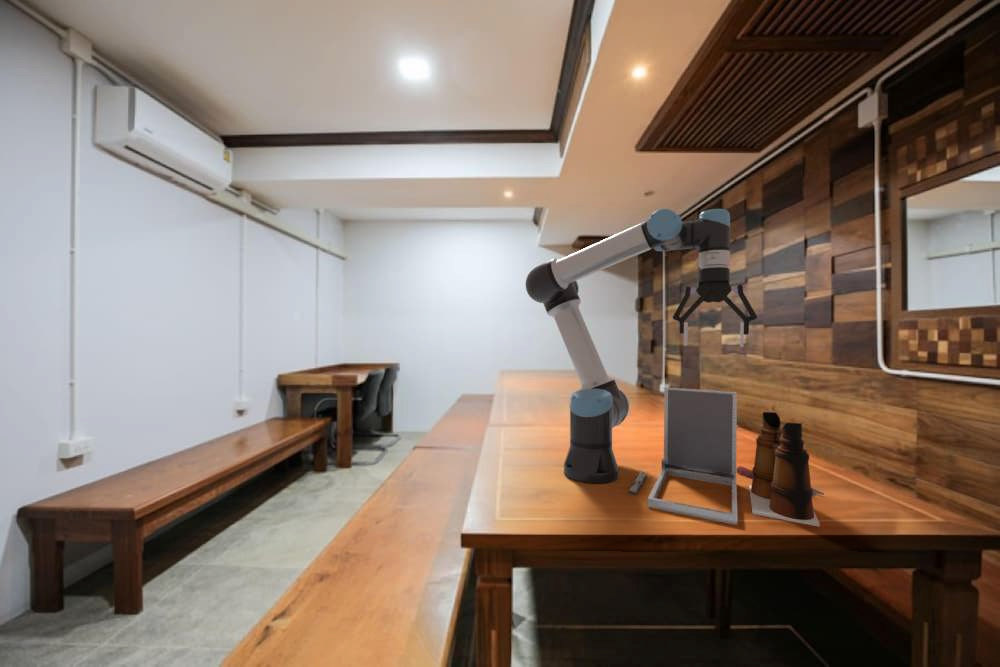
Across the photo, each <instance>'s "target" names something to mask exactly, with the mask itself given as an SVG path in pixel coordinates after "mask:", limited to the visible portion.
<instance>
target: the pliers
mask: <svg viewBox="0 0 1000 667" xmlns="http://www.w3.org/2000/svg"><path fill="white" fill-rule="evenodd" d="M752 470H753V469H749V468H746V467H744V466H741V465H739V466H738V467H737V466H736V474H739V475H741V476H744V477H745V478H748V479H752V480H753V473H752ZM811 489H812V490H813V496H812V497H816V494H817V495H823V496H824V495H825V493H824V492H822V491H820V490H818V489H816V488H813V487H812V486H811Z"/></svg>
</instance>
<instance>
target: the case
mask: <svg viewBox="0 0 1000 667" xmlns="http://www.w3.org/2000/svg"><path fill="white" fill-rule="evenodd" d="M663 400H664V402H663V403H664V406H663V407H664V408H663V412H664V413H663V414H664V415H663V416H664V417H663V419H664V420H663V421H664V422H663V458H662V459H661V471H660V472H659V474H658V477H657V479H656V481H655V483H654V484H653V487H652V489H651V491H650V493H649V495H648V497H647V508H649V507H650V509H655V510H660V511H664V512H668V513H669V512H670V513H674V514H680V515H684V516H690V517H693V518H694V517H695V518H697V519H698V518H699V519H704V520H709V521H714V522H717V523H718V522H719V523H722V524H727V525H734V526H738V491H737V490H738V489H737V445H738V444H737V434H738V432H737V430H738V427H737V425H738V424H737V423H738V392H736V391H725V390H724V391H722V390H721V391H720V390H710V389H693V388H681V387H680V388H679V387H678V388H677V387H664V398H663ZM667 476H670V477H677V478H683V479H690V480H695V481H701V482H706V483H714V484H720V485H726V486H731V512H728V511H725V510H724V511H723V510H722V511H721V510H717V509H714V508H713V509H711V508H708V507H702V506H697V505H691V504H687V503H682V502H676V501H673V500H671V501H670V500H667V499H666V500H665V499H660V498H658V496H659V494H660V491H661V489H662V486H663V484H664V482H665V481H666V478H667Z"/></svg>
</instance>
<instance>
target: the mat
mask: <svg viewBox="0 0 1000 667" xmlns="http://www.w3.org/2000/svg"><path fill="white" fill-rule="evenodd" d="M748 486H749V487H748V488H749V496H750V503H751V504H750V505H751V514H752V515H757V516H762V517H766V518H772V519H777V520H781V521H789V522H793V523H798V524H803V525H809V526H815V527H821V526H820V525H821V524H820V521H819V520H818V517H817V515H816V513H815V510H814V509H813V511H814V518H813V519H810V520H798V519H792V518H788V517H785V516H782V515H779V514H777V513H775V512H773V511H772V510H771V509H770V508H769V505H770V500H769V499H765V498H762V497H759V496H757V495H755V494H753V493H752V492H751V487H752V484H751V485H750V484H749V485H748Z"/></svg>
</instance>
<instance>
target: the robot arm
mask: <svg viewBox="0 0 1000 667" xmlns="http://www.w3.org/2000/svg"><path fill="white" fill-rule="evenodd" d="M698 216H699V217H698V219H696V220H691V221H683V220H682V218H681V217H680V215H679V213H677V212H676V211H674V210H672V209H669V208H660V209H658V210H656V211H654V212H653V213H652V214H651V215H650V216H649V218H648V219H646V220H643V221H642V222H640V223H638V224H636V225H634V226H632V227H630V228H627V229H625V230H623V231H621V232H619V233H615V234H614V235H612V236H609V237H607V238H605V239H603V240H600V241H599V242H596V243H593V244H591V245H589V246H586V247H585V248H583V249H581V250H578V251H576V252H573V253H571V254H569V255H568V256H565V257H562V258H561V259H557V258H552V259H550V260H548V261H545V262H543V263H541V264H539V265H537V266H536V267H533V269H531V271H529V273H528V274H527V276H526V280H525V290H526V292H527V295H528V296H529V297H530V298H531V299H532V301H535V302H537V303H539V304H543V307H544V308H545V312H546V313H547V315H548V316H549V317H552V318H554V321H555V323H556V325H557V328H558V330H559V333H560V336H561V339H562V341H563V343H564V345H565V348H566V350H567V352H568V354H569V357H570V360H571V362H572V364H573V366H574V370H575V372H576V375H577V377H578V379H579V381H580V384H581V387H580V389H579V390H576V391H574V392H573V393H572V394H571V397H570V403H569V416H570V417H569V421H570V422H569V442H570V443H569V448H568V451H567V454H566V456H565V460H564V462H563V475H564V476H566V477H568V478H569V479H572V480H573V481H574V480H575V481H577V482H581V483H588V484H590V483H591V484H604V483H606V484H607V483H610V482H614V481H615V480H617V479H618V478H619V466H618V464H617V460H616V457H615V453H614V450H613V428H615V427H617V426H619V425H620V424H622V423H623V422H624V421H625V419H626V417H627V416H628V414H629V411H630V403H629V399H628V397H627V395H626V394H625V393H624V391H622V390H620V389H619V387H618V385H617V382H616V380H615V378H614V377H611V376H609V375H608V374H607V371H606V369H605V366H604V363H603V362H602V360H601V358H600V355H599V352H598V351H597V348H596V346H595V344H594V340H593V338H592V336H591V334H590V331H589V329H588V326H587V324H586V322H585V320H584V317H583V315H582V312H581V310H580V308H579V306H580V304H581V302H582V300H581V299H580V296H579V288H580V287H579V284H578V280H581V279H583V278H586V277H588V276H591V275H593V274H595V273H597V272H600V271H602V270H605V269H607V268H610V267H611V266H614V265H618V264H619V263H621V262H624V261H626V260H629V259H631V258H634V257H635V256H638V255H640V254H643V253H646V252H648V251H650V250H652V249H653V250H654V251H656V252H669V251H677V250H689V249H698V268H700V269H699V270H698V278H697V279H698V282H697V284H698V285H697V287H690V286H686V288H685V293H684V295H683V297H682V298H681V301H680V302H679V303H680V304H678V306H677V309H676V311H675V312H674V314H673V316H672V320H674V321H677V322H679V334H683V346H685V347H687V346H688V342H689V341H688V335H689V332H688V330H689V328H688V327H689V323H688V322H687V319H688V318H689V317H690V316H691V315H693V313H694V312H695V311H696V310H697V309H698V308H699V307H700V306H701V305H702V303H704V302H705V303H708V304H712V303H722V302H724V303H726V305H728V307H730V308H731V310H733V312H734V313H735V314H736V315H737V316H738V317H740V319H741V320H743V321H742V322H741V321H740V324H739V327H740V330H739V331H740V332H739V347H740V348H744V339H745V338H744V335H749V331H750V322H751V321H754V320H757V318H758V315H757V313H756V312H755V311H754V308H753V307H752V305H751V304H750V301H749V300H748V298H747V296H746V295H745V293H744V287H743V285H742V284H738V285H734V286H733V285H732V286H731V285H730V272H731V271H730V268H729V267H730V265H731V264H730V263H731V258H730V257H731V214H730V212H729V210H727V209H723V208H713V209H708V210H703V211H701V213H700V214H699V215H698ZM731 291H733V292H734V294H737V296H739V297H738V298H739V299H740V300H741V302H742V304H743V306H744V307H745V310H746V311H747V313H748V315H749V316H747V315H746V314H745V313H744V312H743V311H742V309H740V308H739V306H737V305H736V304H735V303H734V302H733V301H732V300H731V298H729V297H728V296H729V295H730V293H731ZM694 293H697V294H698V295H699V297H698V298H697V299H696V301H695V302H693V304H692V305H691V306H690V307H689V308H688V309H687V310H686V311H685V312H684V314H683V315H682V316H681V314H682V312H683V310H684V309H685V307H686V305H687V303H688V301H689V300H690V298H691V296H693V295H694Z"/></svg>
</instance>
